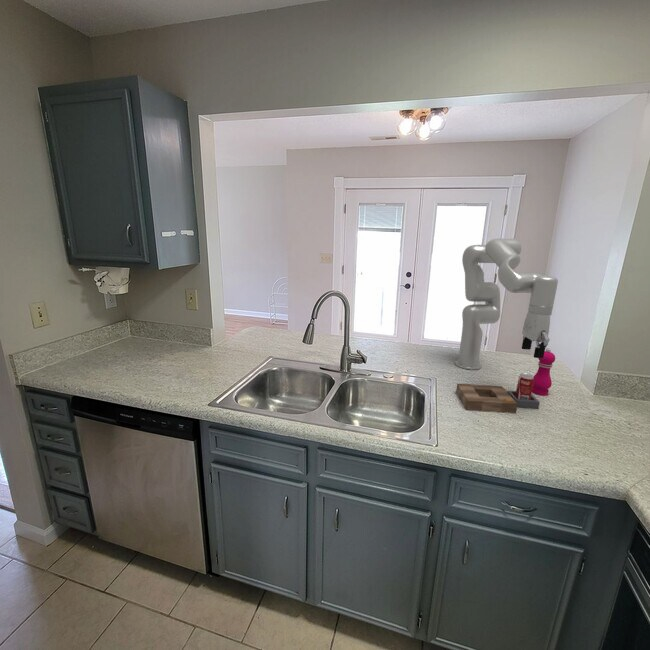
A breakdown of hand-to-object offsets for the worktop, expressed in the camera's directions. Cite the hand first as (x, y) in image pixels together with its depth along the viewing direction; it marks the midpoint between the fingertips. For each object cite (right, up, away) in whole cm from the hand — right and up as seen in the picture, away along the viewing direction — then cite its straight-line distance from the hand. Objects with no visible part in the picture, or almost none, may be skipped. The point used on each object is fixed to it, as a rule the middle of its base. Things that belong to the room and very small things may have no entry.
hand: (531, 353), depth 130 cm
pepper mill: (+13, -18, +15) cm, 27 cm away
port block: (-15, -20, +6) cm, 26 cm away
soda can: (0, -21, +6) cm, 22 cm away
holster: (0, -20, +6) cm, 21 cm away
